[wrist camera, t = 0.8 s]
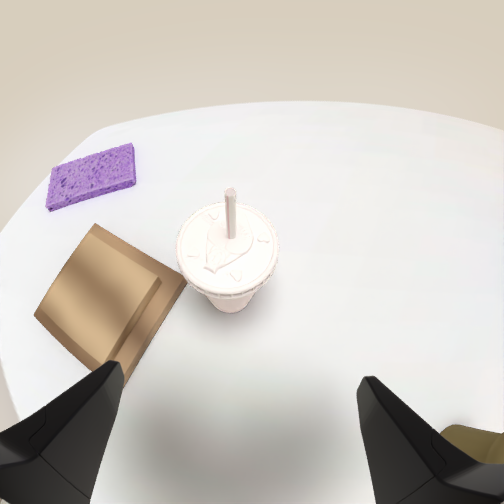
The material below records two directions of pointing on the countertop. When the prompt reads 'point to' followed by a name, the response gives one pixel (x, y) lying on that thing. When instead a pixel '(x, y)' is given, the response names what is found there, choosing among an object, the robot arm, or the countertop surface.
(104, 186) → the sponges
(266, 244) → the smoothie
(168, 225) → the countertop surface
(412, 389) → the countertop surface
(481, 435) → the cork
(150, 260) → the walnut base
